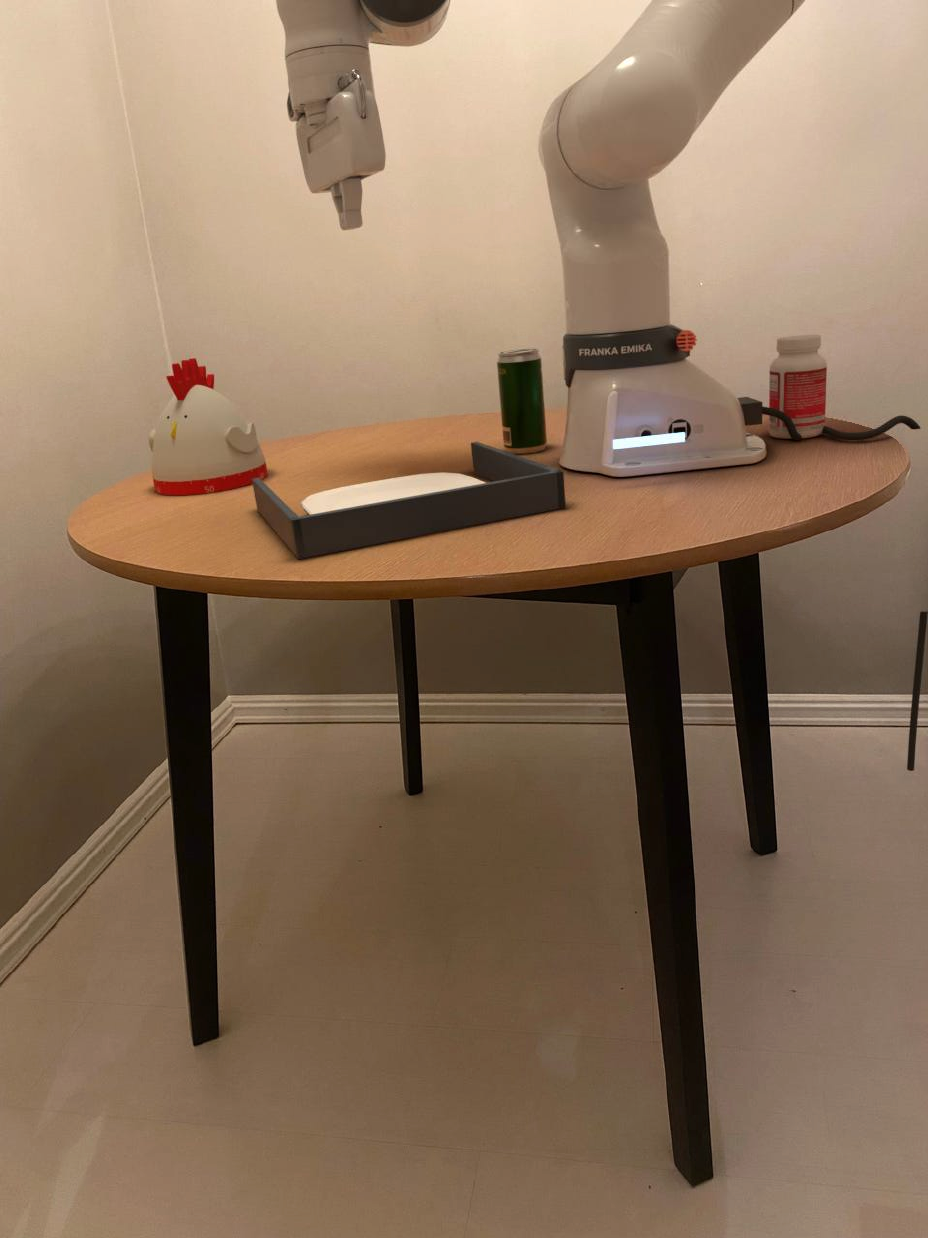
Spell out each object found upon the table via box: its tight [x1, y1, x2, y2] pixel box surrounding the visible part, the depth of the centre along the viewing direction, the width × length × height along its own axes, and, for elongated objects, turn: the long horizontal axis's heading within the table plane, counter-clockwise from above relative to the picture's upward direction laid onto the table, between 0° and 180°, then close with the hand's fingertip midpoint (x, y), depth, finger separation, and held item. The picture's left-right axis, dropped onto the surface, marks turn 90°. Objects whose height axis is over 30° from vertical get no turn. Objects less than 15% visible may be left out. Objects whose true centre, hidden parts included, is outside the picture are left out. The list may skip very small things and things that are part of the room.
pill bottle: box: [768, 334, 828, 440], centre depth 108 cm, size 6×6×11 cm
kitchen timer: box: [148, 357, 269, 496], centre depth 115 cm, size 14×14×15 cm
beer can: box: [496, 348, 548, 455], centre depth 115 cm, size 5×5×12 cm
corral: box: [252, 441, 567, 560], centre depth 93 cm, size 22×26×4 cm
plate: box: [300, 471, 486, 515], centre depth 93 cm, size 18×18×2 cm
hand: (351, 228), depth 104 cm, fingers closed
